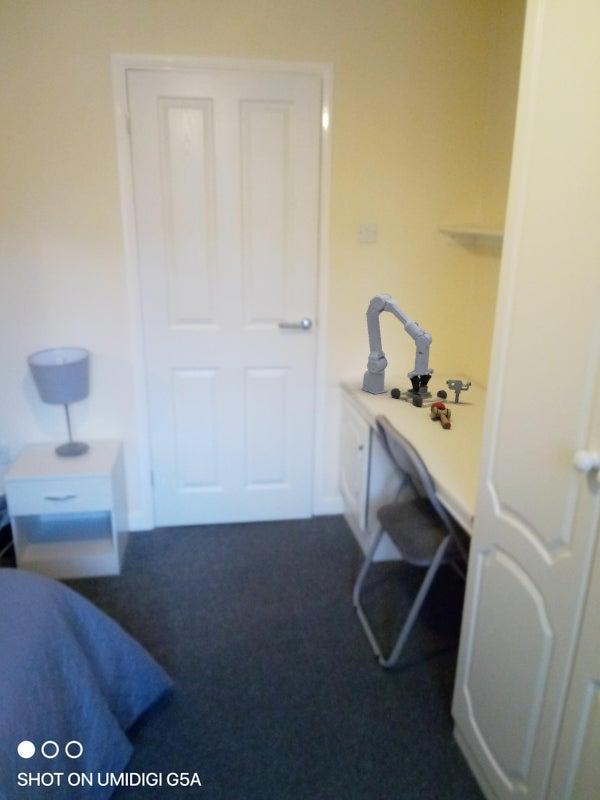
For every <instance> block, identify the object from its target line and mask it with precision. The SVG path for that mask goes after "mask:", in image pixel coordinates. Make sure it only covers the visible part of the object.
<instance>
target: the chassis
mask: <svg viewBox="0 0 600 800" xmlns="http://www.w3.org/2000/svg"><path fill="white" fill-rule="evenodd" d="M412 391H413V388H409V389H405V390H400V389H399V388H398V387H397V388H396V387H395V388H392V389H391V390H390V396H391V397H392V398H393V399H399V400H401V399H402V401H404V400H405V401H404V402H407V401H408V403H410V402H411V403H410V404H413V406H414V407H422V408H423V409H425V408H429V407H430V408H431V406H432V405H433V404H434V403H436V402H441V403H443V404H445V402H446V403H447V402H448V401H447V398H448V393H447V391H446V390H444V389H441V390H438V391H437V392H436V395H433V394H432V393H431V392H430V391H427V392H426V393H422V394H420V396H418V395H416V394H413V393H412Z"/></svg>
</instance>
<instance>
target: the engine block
mask: <svg viewBox="0 0 600 800" xmlns="http://www.w3.org/2000/svg"><path fill="white" fill-rule="evenodd" d="M428 387H429V386H428V385H427V386H426V385H423V384H419V389H418V393H416V392H413V391H412V393H413V394H416V395H418V396H420V394H422V393H426V392H428Z"/></svg>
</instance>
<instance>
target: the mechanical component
mask: <svg viewBox="0 0 600 800" xmlns="http://www.w3.org/2000/svg"><path fill="white" fill-rule="evenodd" d="M445 382H446V383H445V385H447V387H448V389H449V390H451V391H453V390H454V394H455V397H454V404H456V403H458V404H459V401H460V395H461V391H463V392H464V391H465V392H467V391H468V390H469V388H470V387H471V386H472V382H471V381H467V383H466V384H464V383H463V381H462V380H459V379H448V380H446V381H445ZM463 387H464V388H463ZM465 387H466V388H465Z"/></svg>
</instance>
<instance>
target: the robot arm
mask: <svg viewBox="0 0 600 800" xmlns="http://www.w3.org/2000/svg"><path fill="white" fill-rule="evenodd" d="M383 312H388V313H391V314H393V316H394V317H395V318H397V320H398V321H399V322H400V323H401V324H402V325H403V326H404V327H403V328H404V331H405V332H406V333H407V334H408V335H409V336H410V338H411V339H412V340H413V341H414V345H415V346H416V349H415V359H414V368H413V370H412V371H410V372H407V378H408V379H409V380H410V383H411V387H412V389H413V392H416V393H418V389H419V384H423V385H426V386H428V384H429V382H430V380H431V379H432V375H431V374H434V373H435V372H434V371H435V369H433V368H429V361H430V348H431V346H430V345H431V344H432V342H433V337H432V335H431V334H430V333H429V332H427V331H426V330H424V329H423V328H422V327H421V326H420V325H419V321H416V320H414V319H410V318H409V317H408V315H407V314H406V313H405V312H404V311H403V309H402V307H400V306H399V304H398V303H397V301H396V299H394V298H393V297H392V295H390V294H388V293H383V294H380V295H376V296H374V297H373V298H372V299H371V300H370V301H369V305H368V307H367V309H366V324H367V332H368V333H367V334H368V344H369V351H370V353H369V355H368V358H367V359H368V362H367V365H366V369H367V370H366V371H365V372H364V374H363V378H362V380H363V383H362V387H361V390H363V391H366V392H369V393H371V394H373V395H377V394H378V395H379V394H383V393H387V392H388V390H387V389H384V388H385V375H386V371H385V369H387V366H388V360H387V358H386V353H385V352H384V351H383V347H382V346H383V345H382V338H381V337H382V336H381V335H382V334H381V326H380V317H379V316H380V315H381V314H382V313H383Z"/></svg>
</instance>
